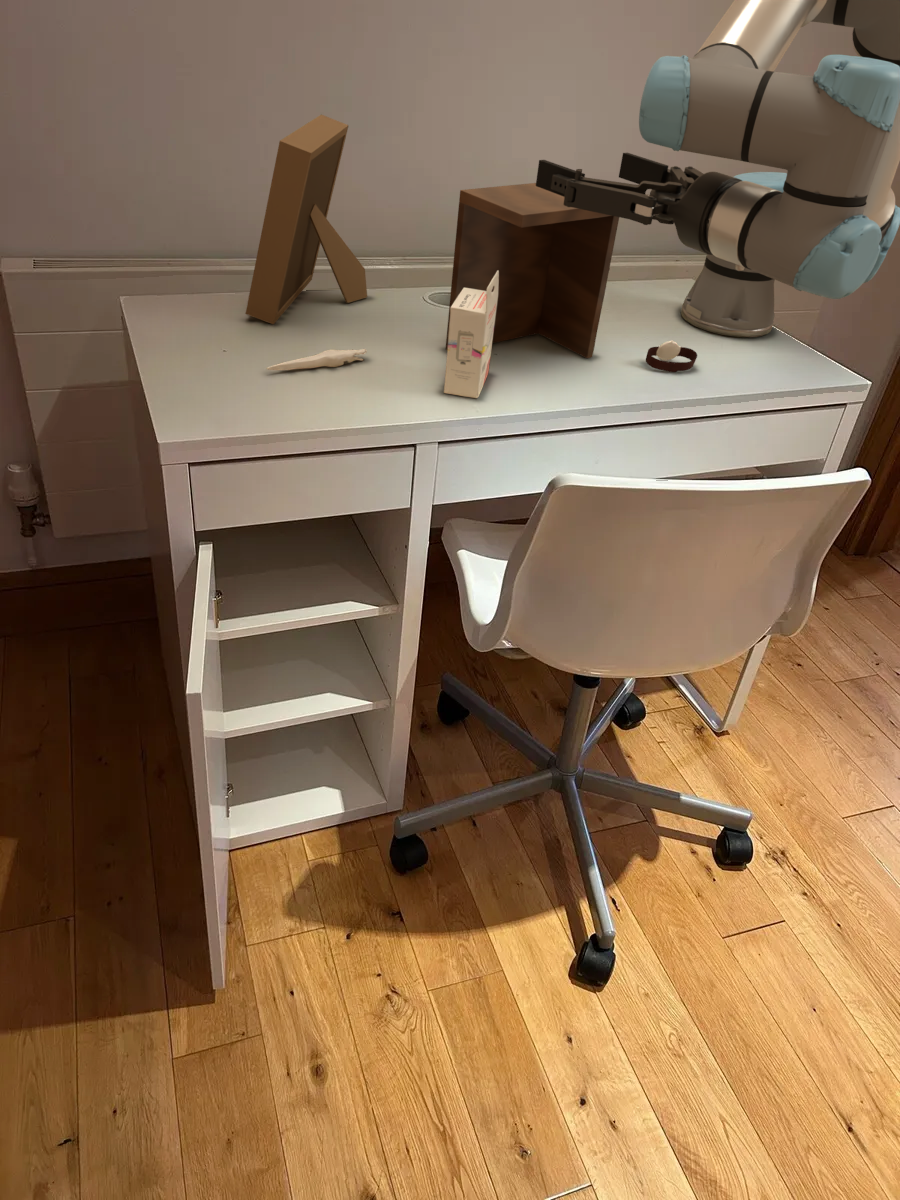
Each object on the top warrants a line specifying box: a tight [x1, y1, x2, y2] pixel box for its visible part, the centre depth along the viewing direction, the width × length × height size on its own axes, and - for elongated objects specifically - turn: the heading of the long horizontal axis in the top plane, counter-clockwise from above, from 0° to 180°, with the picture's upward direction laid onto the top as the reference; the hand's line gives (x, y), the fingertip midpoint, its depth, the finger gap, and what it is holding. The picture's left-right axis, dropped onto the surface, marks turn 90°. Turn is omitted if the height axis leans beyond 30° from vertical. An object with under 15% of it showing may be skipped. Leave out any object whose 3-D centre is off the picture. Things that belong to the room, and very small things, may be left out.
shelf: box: [445, 182, 620, 359], centre depth 130 cm, size 19×12×22 cm
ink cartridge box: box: [443, 271, 499, 399], centre depth 121 cm, size 9×5×15 cm, turn 168°
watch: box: [645, 339, 698, 373], centre depth 136 cm, size 8×5×4 cm, turn 100°
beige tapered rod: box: [266, 348, 367, 371], centre depth 125 cm, size 15×3×2 cm, turn 123°
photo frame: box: [245, 113, 368, 325], centre depth 137 cm, size 15×22×25 cm
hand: (582, 168), depth 107 cm, fingers open, 13 cm apart
